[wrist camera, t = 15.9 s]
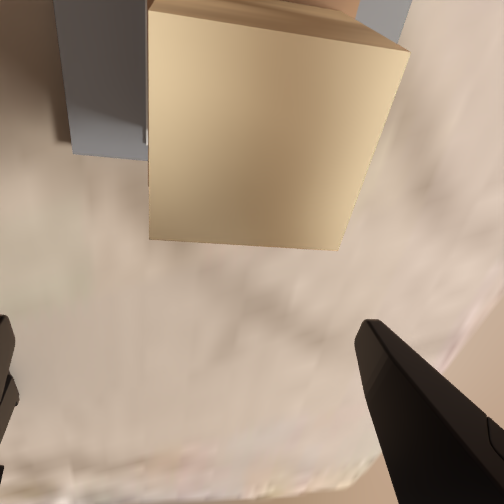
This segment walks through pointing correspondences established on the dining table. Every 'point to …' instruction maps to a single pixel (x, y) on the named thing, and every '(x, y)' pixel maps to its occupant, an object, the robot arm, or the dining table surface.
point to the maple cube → (262, 120)
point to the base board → (135, 69)
